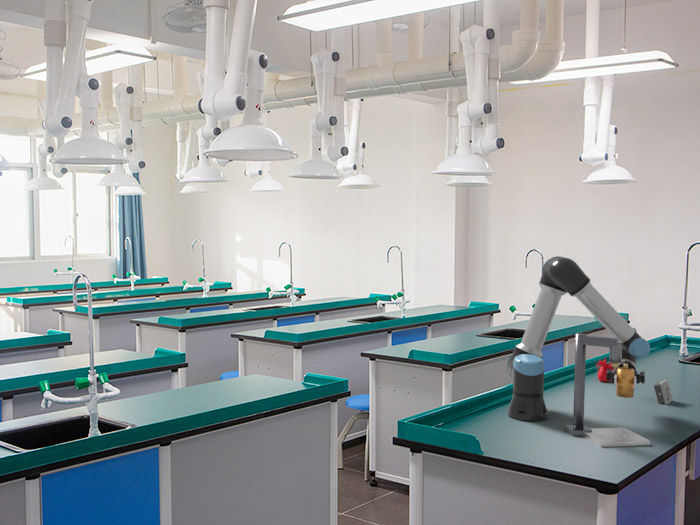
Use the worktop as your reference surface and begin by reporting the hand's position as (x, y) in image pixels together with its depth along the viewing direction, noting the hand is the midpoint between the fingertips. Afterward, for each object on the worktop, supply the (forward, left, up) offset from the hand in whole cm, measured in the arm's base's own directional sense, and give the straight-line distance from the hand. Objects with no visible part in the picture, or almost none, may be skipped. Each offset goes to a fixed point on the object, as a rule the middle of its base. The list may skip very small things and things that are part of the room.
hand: (625, 382), depth 250 cm
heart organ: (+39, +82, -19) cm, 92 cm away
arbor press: (-10, -5, -18) cm, 22 cm away
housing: (+3, +4, -6) cm, 8 cm away
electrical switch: (+42, +40, -19) cm, 61 cm away
